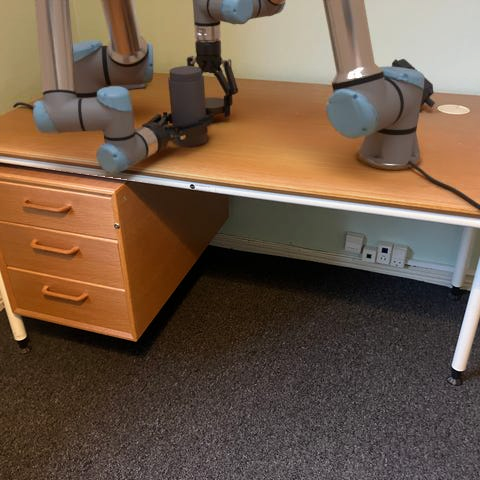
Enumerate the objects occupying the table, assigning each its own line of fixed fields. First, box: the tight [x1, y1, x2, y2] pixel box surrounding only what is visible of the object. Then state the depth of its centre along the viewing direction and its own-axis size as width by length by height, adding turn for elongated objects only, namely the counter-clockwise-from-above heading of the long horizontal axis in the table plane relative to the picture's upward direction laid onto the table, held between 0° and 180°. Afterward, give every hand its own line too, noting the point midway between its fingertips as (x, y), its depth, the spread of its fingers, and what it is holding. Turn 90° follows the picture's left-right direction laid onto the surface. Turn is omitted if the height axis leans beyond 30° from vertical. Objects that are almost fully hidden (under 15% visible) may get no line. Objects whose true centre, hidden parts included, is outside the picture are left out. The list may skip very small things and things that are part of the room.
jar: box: [167, 65, 208, 147], centre depth 148 cm, size 10×10×20 cm
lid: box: [205, 96, 224, 116], centre depth 165 cm, size 11×11×2 cm
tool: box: [390, 58, 436, 108], centre depth 172 cm, size 6×19×15 cm, turn 51°
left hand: (197, 115), depth 153 cm, fingers closed on jar, 10 cm apart
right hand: (211, 113), depth 166 cm, fingers closed on lid, 10 cm apart
